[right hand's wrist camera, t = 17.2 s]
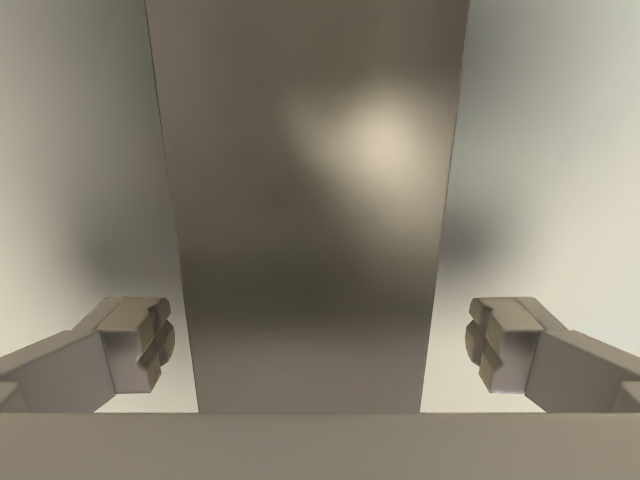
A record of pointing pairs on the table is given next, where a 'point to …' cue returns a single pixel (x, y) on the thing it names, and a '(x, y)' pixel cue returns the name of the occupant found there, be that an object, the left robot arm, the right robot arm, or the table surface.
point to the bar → (308, 193)
